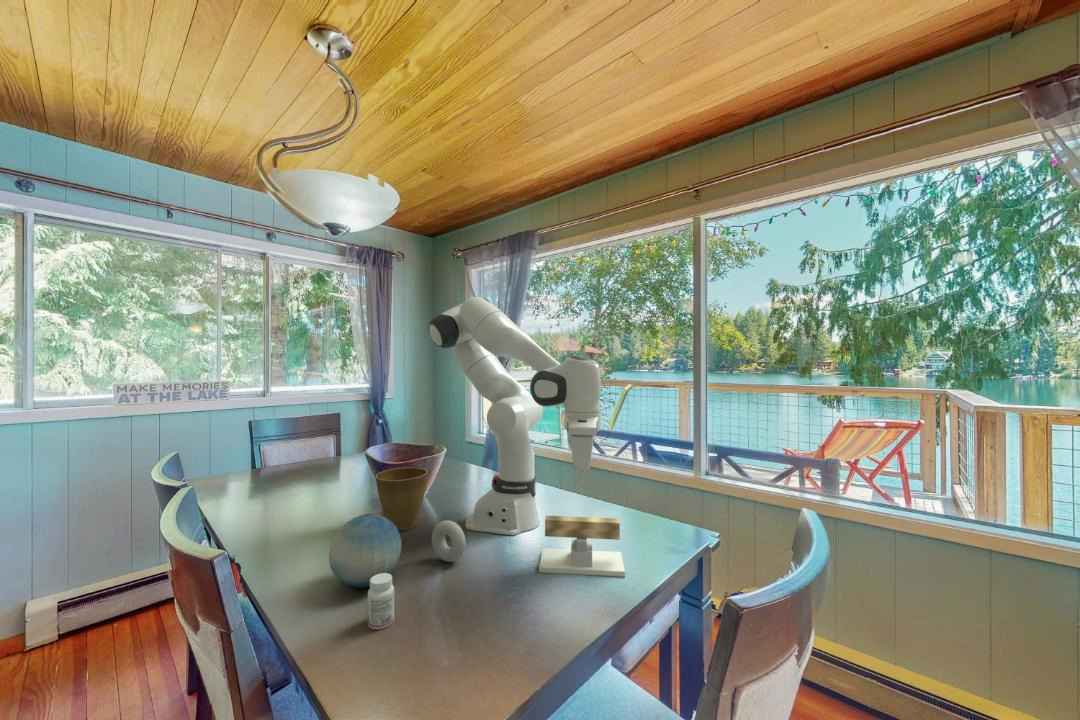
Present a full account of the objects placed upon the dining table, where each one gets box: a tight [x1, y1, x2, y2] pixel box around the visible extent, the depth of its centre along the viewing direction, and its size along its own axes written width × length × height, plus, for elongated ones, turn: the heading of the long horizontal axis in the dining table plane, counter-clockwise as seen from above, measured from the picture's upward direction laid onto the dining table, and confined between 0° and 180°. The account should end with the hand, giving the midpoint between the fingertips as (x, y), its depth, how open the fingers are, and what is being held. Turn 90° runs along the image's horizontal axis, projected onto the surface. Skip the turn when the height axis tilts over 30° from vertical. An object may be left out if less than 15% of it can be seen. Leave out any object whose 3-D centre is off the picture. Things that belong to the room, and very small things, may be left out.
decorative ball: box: [328, 513, 402, 589], centre depth 94 cm, size 15×15×15 cm
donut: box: [431, 520, 467, 563], centre depth 104 cm, size 10×3×10 cm, turn 61°
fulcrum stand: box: [538, 538, 626, 578], centre depth 103 cm, size 20×10×7 cm, turn 84°
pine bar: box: [544, 515, 621, 541], centre depth 103 cm, size 18×3×4 cm, turn 84°
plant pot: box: [375, 466, 428, 532], centre depth 126 cm, size 15×15×16 cm
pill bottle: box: [367, 573, 395, 630], centre depth 80 cm, size 5×5×8 cm
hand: (581, 478), depth 103 cm, fingers open, 8 cm apart
